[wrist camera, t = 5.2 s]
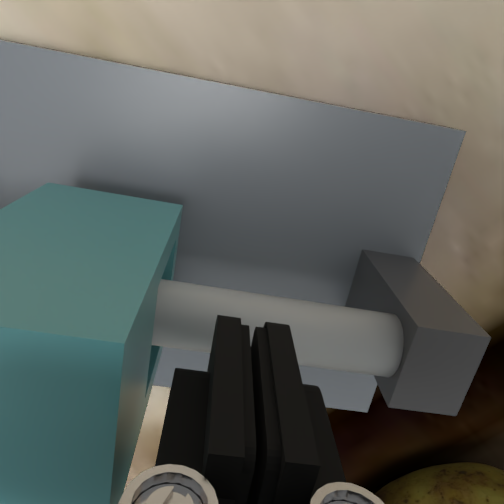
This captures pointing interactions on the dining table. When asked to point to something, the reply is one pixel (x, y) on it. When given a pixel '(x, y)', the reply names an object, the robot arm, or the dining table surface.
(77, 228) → the teal sliding cube
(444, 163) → the slider rail stand
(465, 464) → the potato
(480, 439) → the dining table surface
